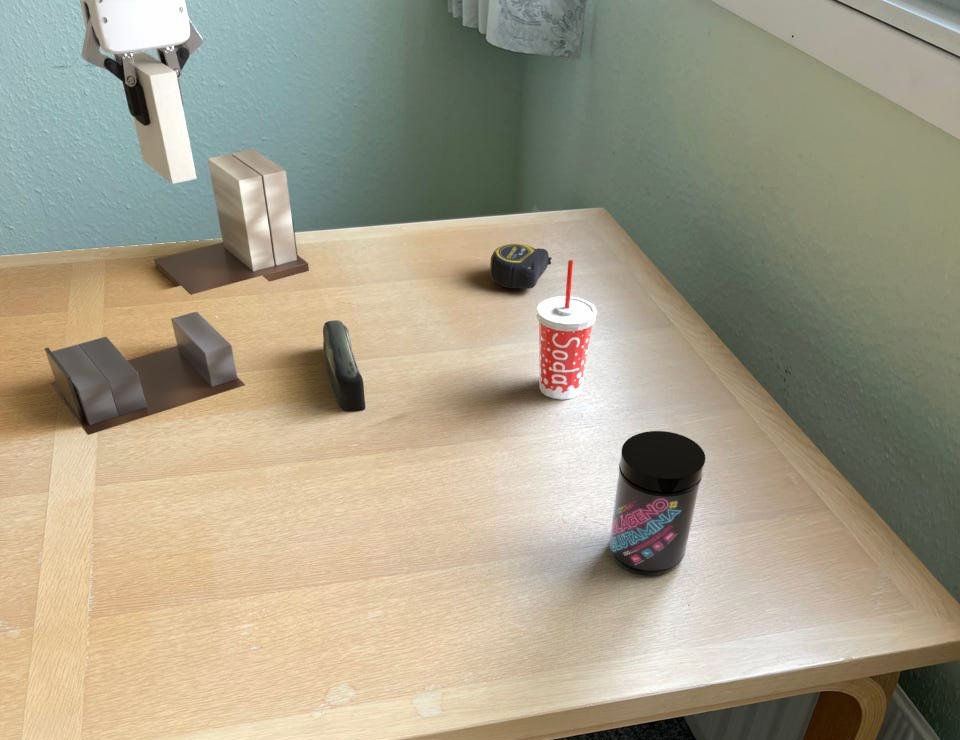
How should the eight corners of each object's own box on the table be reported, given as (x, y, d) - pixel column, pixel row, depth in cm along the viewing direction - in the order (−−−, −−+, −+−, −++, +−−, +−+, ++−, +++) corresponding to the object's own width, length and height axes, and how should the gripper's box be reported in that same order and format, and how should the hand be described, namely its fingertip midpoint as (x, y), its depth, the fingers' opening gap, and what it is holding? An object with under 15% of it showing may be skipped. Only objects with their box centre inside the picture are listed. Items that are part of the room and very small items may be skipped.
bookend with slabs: (192, 302, 117) (170, 201, 108) (155, 266, 123) (132, 169, 115) (309, 270, 123) (297, 172, 115) (267, 238, 130) (253, 144, 121)
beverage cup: (523, 395, 102) (529, 267, 92) (545, 369, 106) (553, 243, 96) (577, 408, 100) (589, 279, 90) (596, 381, 104) (610, 254, 94)
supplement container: (594, 539, 85) (606, 440, 78) (660, 522, 87) (678, 424, 80) (629, 586, 81) (646, 486, 73) (698, 568, 83) (722, 468, 75)
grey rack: (90, 443, 95) (73, 389, 91) (52, 390, 102) (34, 338, 98) (247, 393, 102) (237, 341, 98) (202, 347, 109) (191, 296, 105)
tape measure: (533, 298, 118) (535, 268, 116) (481, 288, 120) (482, 259, 117) (550, 275, 123) (552, 246, 120) (500, 266, 124) (501, 238, 122)
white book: (172, 184, 108) (149, 75, 101) (143, 161, 114) (118, 55, 106) (197, 179, 110) (176, 71, 102) (167, 156, 115) (144, 51, 107)
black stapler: (367, 376, 95) (340, 305, 105) (337, 380, 95) (313, 309, 105) (370, 419, 99) (344, 346, 109) (342, 423, 98) (318, 350, 108)
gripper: (179, -96, 100) (212, 98, 113) (21, -81, 93) (76, 123, 107) (208, -85, 96) (239, 115, 109) (44, -69, 89) (99, 142, 102)
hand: (158, 117), depth 108 cm, fingers closed on white book, 3 cm apart
